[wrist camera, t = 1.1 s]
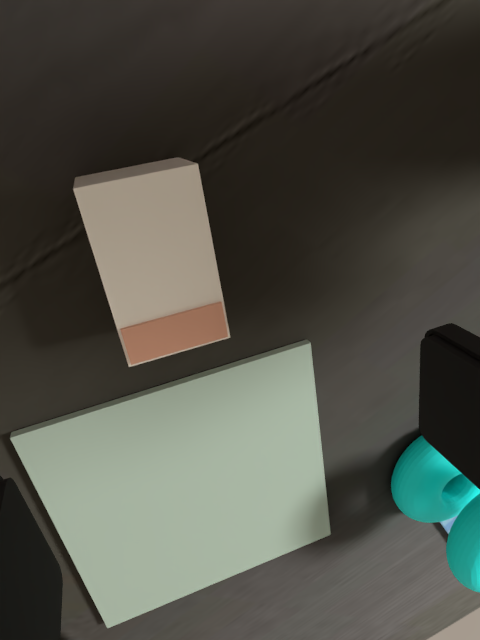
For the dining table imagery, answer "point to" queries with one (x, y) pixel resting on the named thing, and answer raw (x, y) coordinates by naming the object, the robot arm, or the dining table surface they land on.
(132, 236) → the card deck
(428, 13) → the dining table surface
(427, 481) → the donuts
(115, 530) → the mat
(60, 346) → the dining table surface
